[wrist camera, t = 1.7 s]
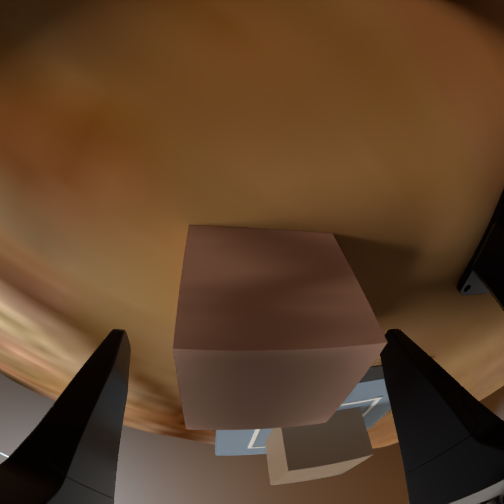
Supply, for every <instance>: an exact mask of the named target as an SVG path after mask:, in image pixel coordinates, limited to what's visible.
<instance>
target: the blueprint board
mask: <svg viewBox="0 0 504 504" xmlns="http://www.w3.org/2000/svg"><path fill="white" fill-rule="evenodd" d="M390 409H391V406H390V402H389V398H388V394H387V390H386V386H385V381H384V375H383V369H382V366H378V367H371V368H369V370H368V371H367V372H366V374H365V375H364V376H363V378H362V379H361V380H360V382H359V383H358V384H357V386H356V387H355V388H354V389H353V391H352V392H351V393H350V394H349V396H348V397H347V398H346V399H345V401H344V402H343V403H342V404H341V406H340V407H339V408H338V409H337V410H336V411H335V413H334V414H333V415H332V416H331V417H330V418H329V420H328V421H327V422H326V423H320V424H312V425H304V426H294V427H283V428H270V429H252V430H216V439H215V454H216V455H253V454H267V460H268V468H269V475H270V483H271V485H277V484H286V483H293V482H300V481H307V480H313V479H319V478H323V477H329V476H334V475H339V474H342V473H344V472H346V471H347V470H349V469H351V468H352V467H354V466H356V465H357V464H359V463H361V462H362V461H364V460H366V459H367V458H369V457H370V456H372V455H373V454H374V453H373V450H372V446H371V443H370V439H369V436H368V432H367V430H368V429H369V428H370V427H371V426H373V425H374V424H375V423H376V422H377V421H378V420H379V419H381V418H382V417H383V416H384V415H385V414H386V413H387V412H388V411H389V410H390Z"/></svg>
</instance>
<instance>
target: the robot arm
mask: <svg viewBox="0 0 504 504" xmlns="http://www.w3.org/2000/svg"><path fill="white" fill-rule="evenodd" d="M457 290H458V291H459V293H460V294H461V295H474V294H486V293H491V295H492V296H493V297H494V299H495V300H496V301H497V303H498V304H499V306H500V307H501V308H502V310H503V311H504V191H503V193H502V196H501V198H500V201H499V203H498V206H497V208H496V210H495V213H494V215H493V217H492V219H491V222H490V224H489V226H488V228H487V230H486V232H485V234H484V236H483V239H482V241H481V243H480V245H479V247H478V249H477V250H476V252H475V254H474V256H473V258H472V260H471V262H470V264H469V265H468V267H467V269H466V271H465V273H464V274H463V276H462V278H461V280H460V281H459V283H458V285H457ZM385 338H386V340H387V344H386V346H385V347H384V348H383V350H382V351H381V353H380V357H381V363H382V369H383V375H384V381H385V386H386V390H387V394H388V398H389V402H390V406H391V410H392V414H393V418H394V422H395V427H396V431H397V436H398V441H399V445H400V450H401V455H402V460H403V466H404V471H405V478H406V484H407V490H408V497H409V504H504V421H503V420H501V419H500V418H499V417H498V416H496V415H495V414H494V413H492V412H491V411H490V410H489V409H488V408H486V407H485V406H484V405H483V404H481V403H480V402H479V401H478V400H477V399H475V398H474V397H473V396H472V395H471V394H470V393H469V392H468V391H467V390H466V389H465V388H464V387H462V386H461V385H460V384H459V383H458V382H457V381H456V380H455V379H454V378H453V377H452V376H451V375H450V374H448V373H447V372H446V371H445V370H444V369H443V368H442V367H441V366H440V365H439V364H438V363H437V362H435V361H434V360H433V359H432V358H431V357H430V356H429V355H428V354H427V353H426V352H424V351H423V350H422V349H421V348H420V347H419V346H418V345H417V344H415V343H414V342H413V341H412V340H411V339H410V338H409V337H408V336H407V335H405V334H404V333H403V332H402V331H401V330H399V329H390V330H388V331H387V333H386V334H385ZM130 352H131V348H130V343H129V339H128V336H127V333H126V331H125V330H122V329H113V330H112V331H111V332H110V333H109V334H108V336H107V337H106V338H105V339H104V340H103V342H102V343H101V344H100V345H99V347H98V348H97V349H96V350H95V352H94V353H93V354H92V355H91V357H90V358H89V359H88V360H87V362H86V363H85V364H84V365H83V367H82V368H81V369H80V370H79V372H78V373H77V374H76V375H75V377H74V378H73V379H72V381H71V382H70V383H69V385H68V386H67V387H66V388H65V390H64V391H63V392H62V394H61V395H60V396H59V398H58V399H57V400H56V402H55V403H54V405H53V406H52V407H51V408H50V410H49V411H48V412H47V414H46V415H45V416H44V418H43V419H42V420H41V422H40V423H39V424H38V425H37V426H36V428H35V429H34V430H33V431H32V432H31V434H30V435H29V436H28V437H27V438H26V439H25V440H24V441H23V442H22V443H21V444H20V445H19V447H18V448H17V449H16V450H15V451H14V452H13V453H12V454H11V455H10V456H9V457H8V459H6V460H5V461H4V462H2V463H1V464H0V504H114V492H115V481H116V471H117V461H118V453H119V445H120V438H121V431H122V424H123V418H124V411H125V405H126V399H127V393H128V378H129V364H130Z"/></svg>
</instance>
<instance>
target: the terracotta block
mask: <svg viewBox="0 0 504 504" xmlns="http://www.w3.org/2000/svg"><path fill="white" fill-rule="evenodd" d="M386 344H387V340H386V338H385V336H384V334H383V332H382V330H381V327H380V325H379V323H378V321H377V319H376V317H375V315H374V313H373V311H372V309H371V307H370V305H369V302H368V300H367V298H366V296H365V294H364V292H363V290H362V288H361V287H360V285H359V283H358V281H357V279H356V277H355V275H354V273H353V271H352V269H351V267H350V265H349V263H348V262H347V260H346V258H345V256H344V254H343V252H342V250H341V248H340V247H339V245H338V243H337V241H336V239H335V238H334V236H333V234H332V233H323V232H309V231H293V230H277V229H260V228H242V227H223V226H202V225H189V227H188V234H187V240H186V247H185V253H184V260H183V267H182V275H181V282H180V290H179V298H178V307H177V315H176V325H175V334H174V344H173V351H174V359H175V366H176V373H177V379H178V386H179V392H180V398H181V403H182V409H183V415H184V420H185V425H186V429H192V430H252V429H270V428H283V427H294V426H304V425H312V424H320V423H326V422H327V421H328V420H329V418H330V417H331V416H332V415H333V414H334V413H335V411H336V410H337V409H338V408H339V407H340V406H341V404H342V403H343V402H344V401H345V399H346V398H347V397H348V396H349V394H350V393H351V392H352V391H353V389H354V388H355V387H356V386H357V384H358V383H359V382H360V380H361V379H362V378H363V376H364V375H365V374H366V372H367V371H368V370H369V368H370V367H371V366H372V364H373V363H374V361H375V360H376V359H377V357H378V356H379V354H380V353H381V351H382V350H383V348H384V347H385V346H386Z"/></svg>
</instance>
